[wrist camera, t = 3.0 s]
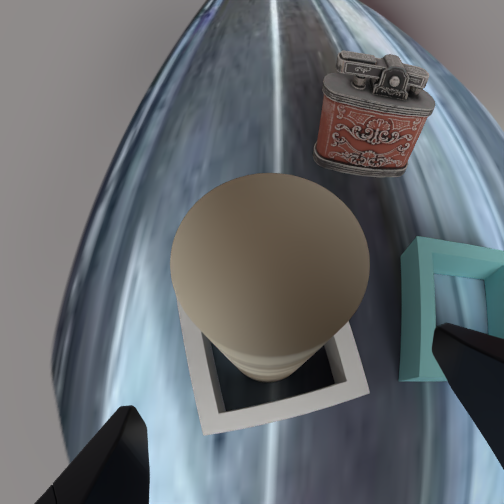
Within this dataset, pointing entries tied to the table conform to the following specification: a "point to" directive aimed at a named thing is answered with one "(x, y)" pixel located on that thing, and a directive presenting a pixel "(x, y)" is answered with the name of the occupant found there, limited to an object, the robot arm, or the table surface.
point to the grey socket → (219, 420)
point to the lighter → (371, 115)
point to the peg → (269, 270)
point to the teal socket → (423, 297)
